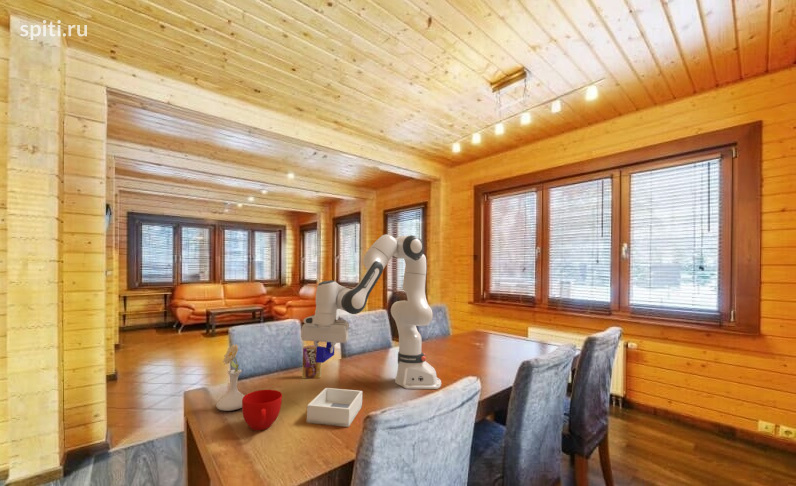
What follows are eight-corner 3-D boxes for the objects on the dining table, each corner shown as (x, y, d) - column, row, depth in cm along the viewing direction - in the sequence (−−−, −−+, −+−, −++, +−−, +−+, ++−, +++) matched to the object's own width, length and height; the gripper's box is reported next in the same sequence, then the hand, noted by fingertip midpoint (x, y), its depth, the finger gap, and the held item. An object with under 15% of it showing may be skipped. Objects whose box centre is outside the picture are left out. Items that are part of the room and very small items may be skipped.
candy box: (320, 375, 170) (322, 344, 171) (320, 378, 166) (321, 346, 167) (302, 375, 169) (304, 345, 170) (301, 378, 165) (303, 347, 166)
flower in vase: (217, 403, 133) (221, 340, 135) (248, 399, 138) (252, 338, 140) (213, 417, 121) (218, 347, 123) (248, 413, 126) (251, 345, 128)
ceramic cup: (239, 444, 104) (241, 411, 105) (241, 420, 120) (242, 392, 120) (283, 436, 109) (284, 405, 110) (279, 415, 125) (280, 387, 126)
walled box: (361, 406, 134) (362, 390, 135) (348, 426, 117) (349, 409, 118) (325, 402, 137) (325, 387, 137) (306, 422, 120) (307, 405, 120)
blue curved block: (324, 354, 148) (324, 340, 148) (334, 354, 147) (334, 341, 147) (312, 362, 136) (313, 347, 136) (323, 362, 135) (323, 347, 135)
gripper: (351, 319, 143) (350, 351, 142) (306, 316, 147) (305, 348, 146) (346, 321, 137) (345, 355, 136) (300, 319, 141) (298, 352, 140)
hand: (324, 352), depth 141 cm, fingers closed on blue curved block, 4 cm apart
